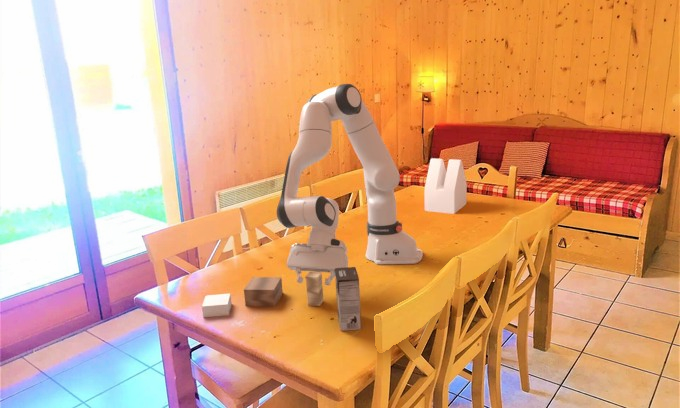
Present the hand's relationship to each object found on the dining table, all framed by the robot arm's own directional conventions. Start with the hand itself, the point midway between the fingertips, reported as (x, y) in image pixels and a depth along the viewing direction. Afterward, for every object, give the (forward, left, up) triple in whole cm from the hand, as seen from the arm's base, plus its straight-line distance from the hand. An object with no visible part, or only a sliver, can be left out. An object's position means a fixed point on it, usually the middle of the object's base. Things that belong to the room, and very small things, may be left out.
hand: (313, 283), depth 168 cm
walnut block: (+18, 0, -7) cm, 19 cm away
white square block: (+30, +10, -7) cm, 32 cm away
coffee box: (-14, +11, -7) cm, 19 cm away
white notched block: (-33, -115, -7) cm, 120 cm away
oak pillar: (0, 0, -7) cm, 7 cm away
